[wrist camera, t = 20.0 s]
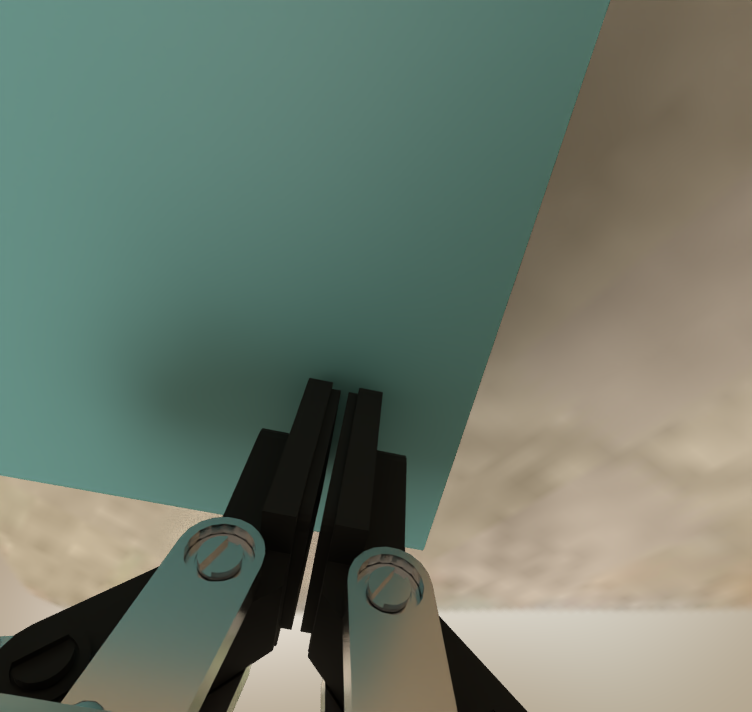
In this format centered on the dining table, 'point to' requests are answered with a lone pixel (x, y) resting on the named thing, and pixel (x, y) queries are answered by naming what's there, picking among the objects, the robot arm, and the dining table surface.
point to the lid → (263, 225)
